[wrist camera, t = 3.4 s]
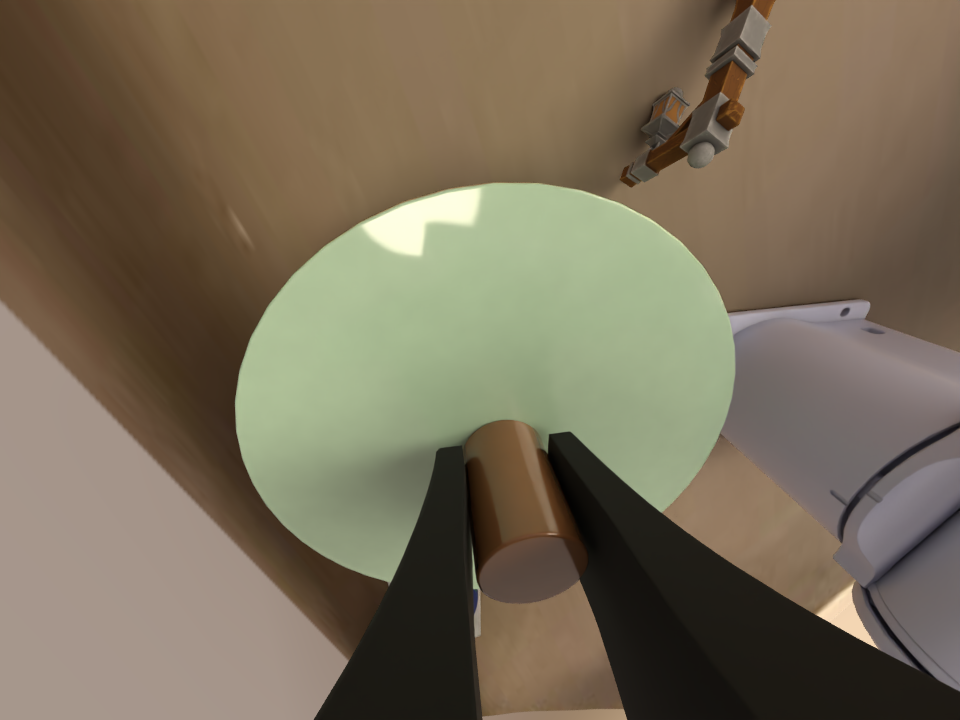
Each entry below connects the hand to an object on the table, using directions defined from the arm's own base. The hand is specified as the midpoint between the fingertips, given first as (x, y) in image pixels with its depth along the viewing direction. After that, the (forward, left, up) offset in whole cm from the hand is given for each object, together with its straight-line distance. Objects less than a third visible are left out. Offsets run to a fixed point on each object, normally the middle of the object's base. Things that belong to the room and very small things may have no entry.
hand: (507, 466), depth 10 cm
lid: (0, 0, -1) cm, 1 cm away
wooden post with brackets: (-9, -10, -9) cm, 16 cm away
